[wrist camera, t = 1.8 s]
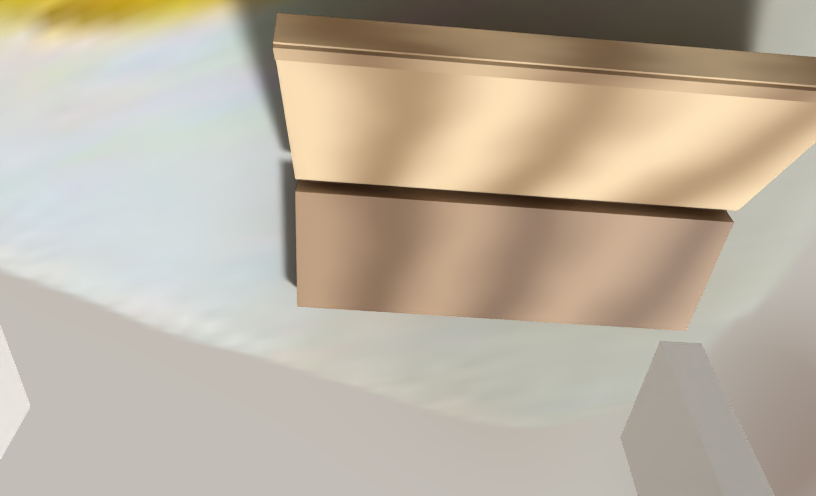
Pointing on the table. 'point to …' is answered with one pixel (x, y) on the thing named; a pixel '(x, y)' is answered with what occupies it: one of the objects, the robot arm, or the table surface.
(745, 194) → the plank
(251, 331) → the table surface
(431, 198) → the laid strip
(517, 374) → the table surface
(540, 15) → the table surface
